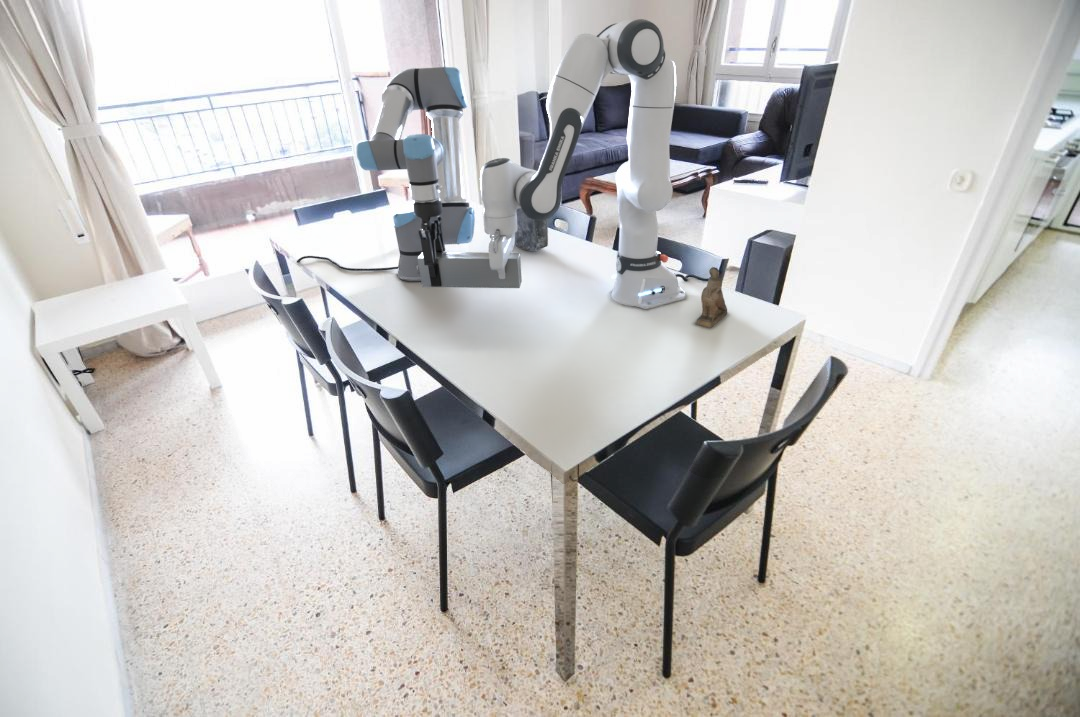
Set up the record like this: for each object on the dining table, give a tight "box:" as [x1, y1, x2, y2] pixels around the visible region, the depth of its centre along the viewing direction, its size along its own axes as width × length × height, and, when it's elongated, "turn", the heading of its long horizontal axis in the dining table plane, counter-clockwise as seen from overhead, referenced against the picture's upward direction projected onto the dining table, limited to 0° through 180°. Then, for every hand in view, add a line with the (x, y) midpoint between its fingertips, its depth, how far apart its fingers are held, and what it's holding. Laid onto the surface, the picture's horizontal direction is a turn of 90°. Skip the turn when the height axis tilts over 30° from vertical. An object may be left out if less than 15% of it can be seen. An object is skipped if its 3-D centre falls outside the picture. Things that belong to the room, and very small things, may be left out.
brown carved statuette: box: [695, 266, 728, 328], centre depth 135 cm, size 12×6×18 cm, turn 136°
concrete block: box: [514, 208, 549, 252], centre depth 191 cm, size 27×9×20 cm, turn 36°
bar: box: [417, 251, 523, 289], centre depth 139 cm, size 28×5×9 cm, turn 84°
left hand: (439, 282), depth 142 cm, fingers closed on bar, 5 cm apart
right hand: (504, 273), depth 139 cm, fingers closed on bar, 5 cm apart
